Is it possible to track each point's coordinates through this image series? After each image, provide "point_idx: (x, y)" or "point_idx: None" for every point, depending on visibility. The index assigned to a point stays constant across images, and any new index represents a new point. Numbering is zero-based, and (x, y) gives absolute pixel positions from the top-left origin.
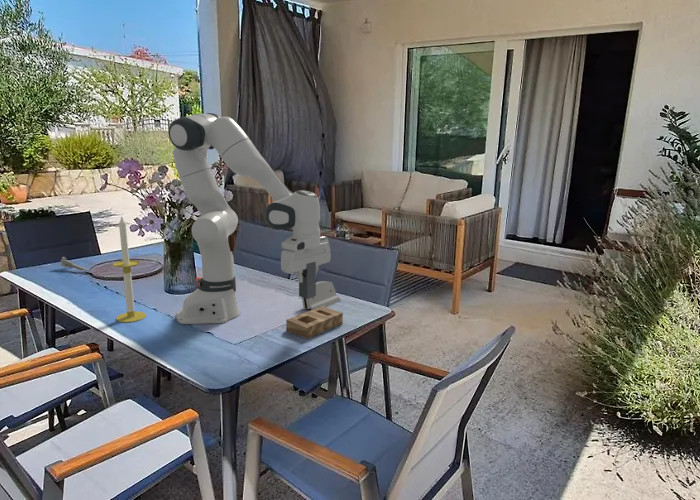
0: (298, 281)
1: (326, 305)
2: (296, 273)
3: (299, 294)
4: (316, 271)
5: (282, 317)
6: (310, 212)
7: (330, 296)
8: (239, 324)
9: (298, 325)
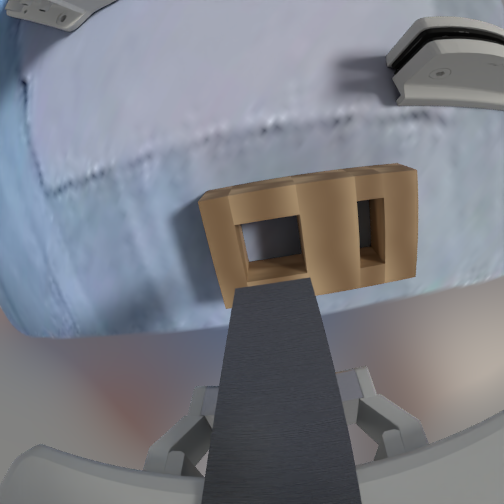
0: (196, 390)
1: (460, 105)
2: (159, 450)
3: (234, 298)
4: (376, 435)
5: (265, 69)
6: None
7: (497, 90)
8: (102, 55)
9: (215, 267)
